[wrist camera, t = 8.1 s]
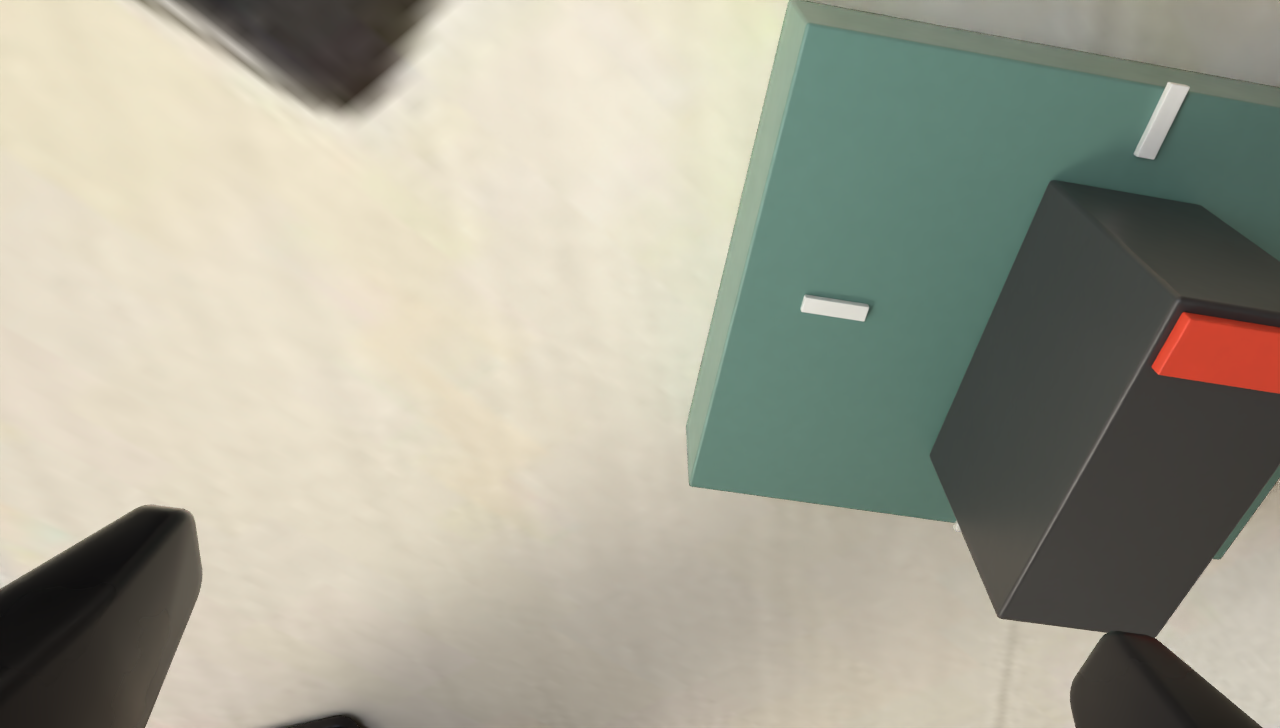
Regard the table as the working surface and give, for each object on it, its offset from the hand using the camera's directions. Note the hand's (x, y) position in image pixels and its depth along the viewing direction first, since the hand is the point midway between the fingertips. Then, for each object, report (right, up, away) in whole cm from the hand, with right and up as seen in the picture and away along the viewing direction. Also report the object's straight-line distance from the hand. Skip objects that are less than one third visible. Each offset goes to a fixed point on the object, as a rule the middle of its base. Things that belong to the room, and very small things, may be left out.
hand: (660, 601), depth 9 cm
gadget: (+9, +3, +10) cm, 14 cm away
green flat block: (+9, +4, +13) cm, 16 cm away
